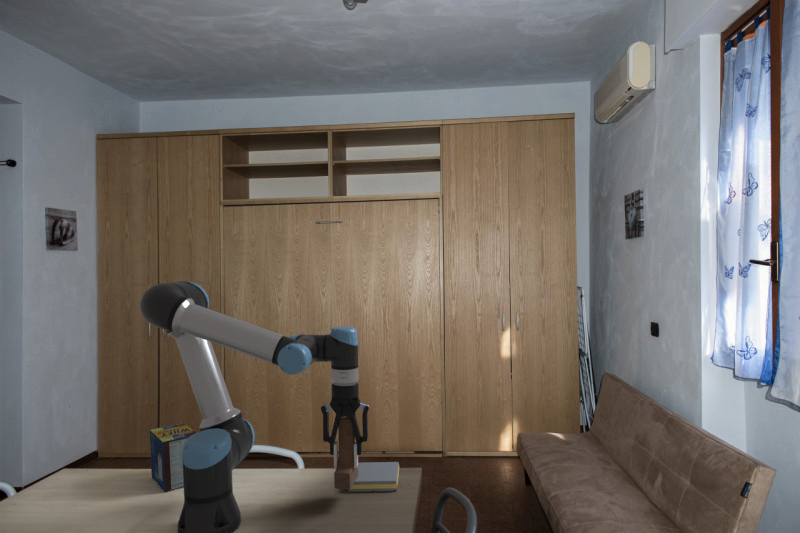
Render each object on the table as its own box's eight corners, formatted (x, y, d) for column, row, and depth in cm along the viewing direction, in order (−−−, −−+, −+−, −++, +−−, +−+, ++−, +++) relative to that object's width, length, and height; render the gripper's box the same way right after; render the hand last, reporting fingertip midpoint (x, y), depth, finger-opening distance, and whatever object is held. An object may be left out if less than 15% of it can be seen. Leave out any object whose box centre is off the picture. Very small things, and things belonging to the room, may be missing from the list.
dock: (348, 492, 147) (348, 481, 147) (354, 472, 161) (354, 462, 161) (397, 491, 146) (396, 481, 146) (399, 471, 160) (399, 461, 160)
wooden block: (350, 490, 136) (348, 423, 136) (334, 489, 137) (332, 422, 137) (358, 476, 145) (357, 413, 145) (343, 475, 146) (342, 413, 146)
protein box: (184, 468, 169) (183, 422, 169) (200, 482, 157) (198, 433, 157) (150, 477, 162) (149, 429, 162) (164, 493, 150) (162, 441, 150)
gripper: (310, 386, 137) (311, 471, 138) (375, 385, 137) (377, 471, 137) (315, 379, 145) (317, 460, 145) (378, 379, 144) (379, 461, 144)
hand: (346, 465), depth 141 cm, fingers closed on wooden block, 5 cm apart
